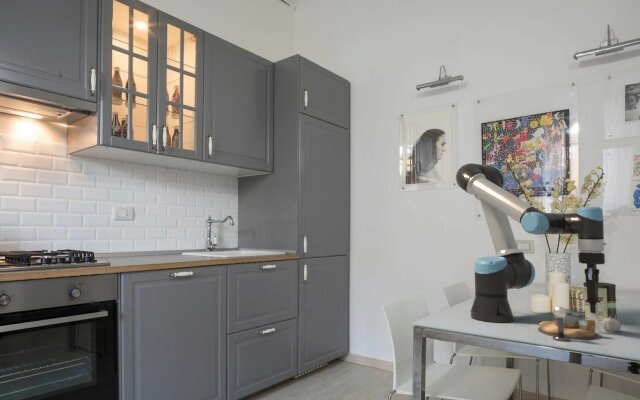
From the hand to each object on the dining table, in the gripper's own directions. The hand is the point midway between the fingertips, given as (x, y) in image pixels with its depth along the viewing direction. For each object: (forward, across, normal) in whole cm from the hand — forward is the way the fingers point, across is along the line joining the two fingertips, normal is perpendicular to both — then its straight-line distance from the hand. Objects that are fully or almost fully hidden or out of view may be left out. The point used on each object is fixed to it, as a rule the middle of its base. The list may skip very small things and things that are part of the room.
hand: (593, 322), depth 139 cm
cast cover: (+1, -6, +7) cm, 10 cm away
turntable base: (+3, -7, +7) cm, 11 cm away
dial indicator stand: (+3, -17, +7) cm, 18 cm away
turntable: (+3, -7, +7) cm, 11 cm away
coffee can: (+4, +23, 0) cm, 23 cm away
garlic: (+4, +6, -4) cm, 8 cm away
